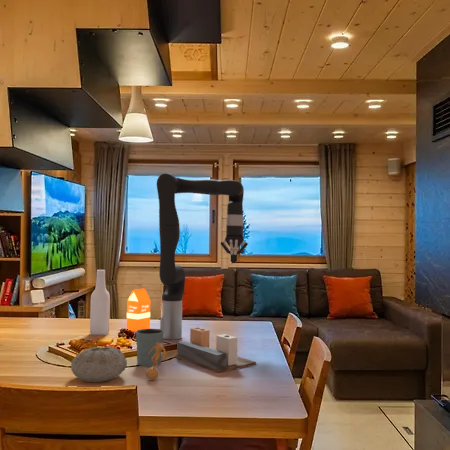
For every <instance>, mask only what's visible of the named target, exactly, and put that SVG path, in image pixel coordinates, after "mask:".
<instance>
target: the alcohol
mask: <svg viewBox="0 0 450 450" xmlns="http://www.w3.org/2000/svg"><path fill="white" fill-rule="evenodd" d="M89 309H90V311H89V312H90V319H89V334H90V335H92V336H106V335H108V334H109V332H110V317H111V315H110V313H111V312H110V311H111V310H110V309H111V296H110V292H109V291H108V290H107V287H106V269H97V270H96V279H95V288H94V290H93V291H92V293H91V295H90V308H89Z"/></svg>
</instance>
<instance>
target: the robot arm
mask: <svg viewBox="0 0 450 450" xmlns="http://www.w3.org/2000/svg"><path fill="white" fill-rule="evenodd" d="M156 189H157V196H158V197H157V198H158V205H159V206H158V218H159V219H158V220H159V221H158V222H159V223H158V225H159V227H158V229H159V231H158V232H159V246H160V247H159V250H160V251H159V252H160V256H159V257H160V258H159V259H160V260H159V279H160V282H161V283H162V284H163V286H166V289H165V291H164V292H163V293H162V295H161V304H162V317H161V316H160V319H159V320H160V321H159V323H160V324H159V325H160V326H159V328H160V330H163V340H170V341H171V340H180V339H181V338H182V335H183V331H182V330H183V329H182V328H183V296H184V293H185V284H186V273H185V270H184V268H183V267H182V266H181V265H178V264H176V258H175V257H176V251H177V248H178V244H179V242H180V241H179V240H180V236H181V235H180V233H181V231H180V219H179V215H178V214H179V213H178V211H177V208H176V207H177V206H176V200H175V199H176V194H197V195H198V194H199V195H209V196H211V195H212V196H221V195H223V196H228V203H227V208H226V209H227V210H226V211H227V212H226V214H227V216H226V227H225V228H226V233H225V234H226V235H225V238H224V240H223V241H221V242H220V245H221V248H223V249H224V251H225V252H226V254H229V255H230V262H231V263H232V264H236V263H237V262H238V256H239V254H242V252H244V251H245V249H246V248H247V246H249V243H248V242H247V241H245V239H244V236H243V235H244V234H243V233H244V217H243V216H244V213H243V212H244V209H243V208H244V207H243V201H244V193H245V192H244V190H245V189H244V186H243V183H241V182H240V181H238V180H236V179H235V180H233V179H231V180H229V179H226V180H224V179H223V180H220V179H208V178H205V179H202V178H201V179H200V178H199V179H185V178H181V177H176V176H174V175H173V174H171V173H168V172H165V173H162V174H160V175H159V176H158V177H157V179H156ZM227 245H228V246H229V248H228V246H227ZM240 246H241V248H240V249H239V247H240Z"/></svg>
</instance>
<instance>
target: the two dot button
mask: <svg viewBox="0 0 450 450" xmlns="http://www.w3.org/2000/svg"><path fill="white" fill-rule="evenodd" d="M189 330H190V331H189V332H190V334H189V337H190V338H189V342H192V343H195V344H199V345H202V346H205V347H208V348H210V332H211V331H210V330H209V329H207V328H206V329H205V328H203V327H200V326H199V327H193V328H191V327H190V328H189Z"/></svg>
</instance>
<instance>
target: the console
mask: <svg viewBox="0 0 450 450" xmlns="http://www.w3.org/2000/svg"><path fill="white" fill-rule="evenodd" d="M176 345H177V347H176V348H177V354H175V358H176V359H179V360H181V361H184V362H186V363H191V364H192V365H196V366H197V367H201V368H203V369H206V370H209V371H212V372H215V373H218V374H221V373H224V372H229V371H235V370H238V369H242V368H247V367H251V366H257V361H254V360H250V359H248V358H245V357H241V356H238V355H237V364H234V365H229V366H228V365H227V353H225V352H221V351H218V350H216V348H212V347H209V348H208V347H205V346H202V345H199V344H195V343H192V342H190V340H184V341H179V342H178V341H177V344H176Z"/></svg>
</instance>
